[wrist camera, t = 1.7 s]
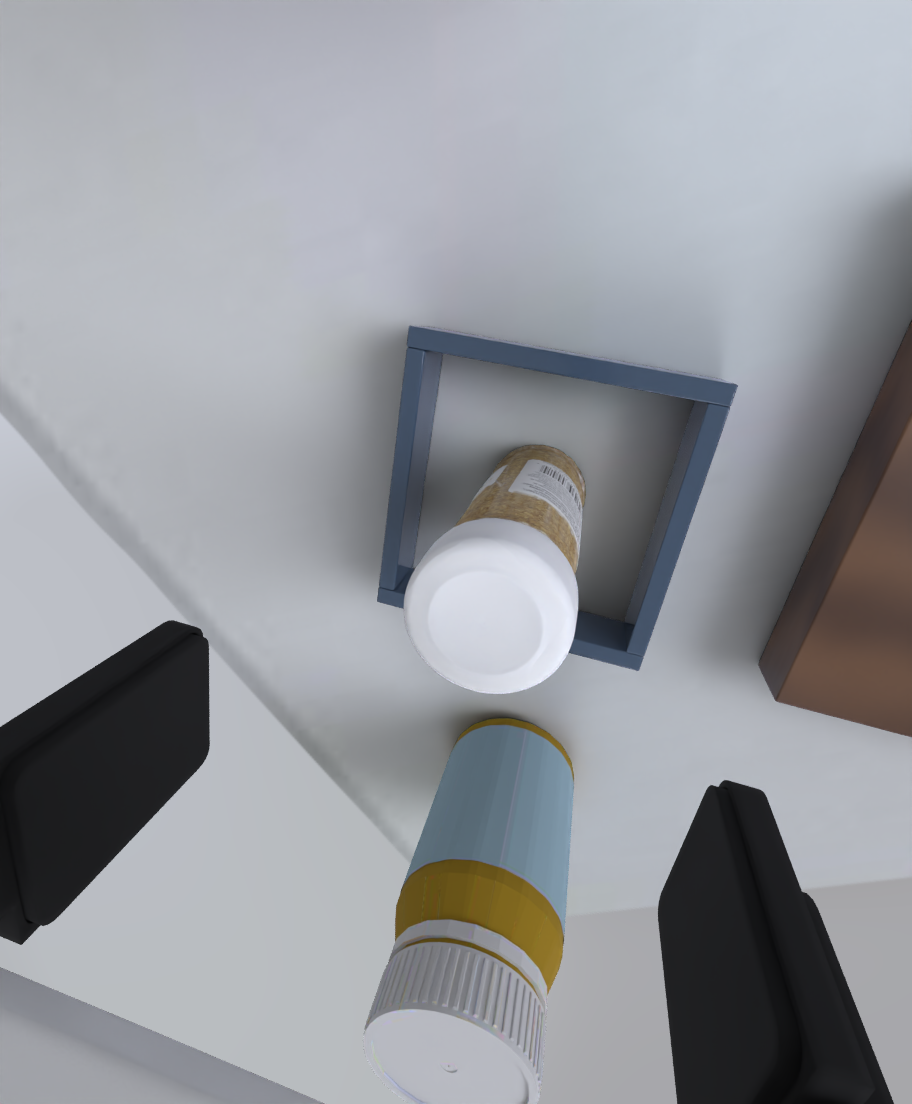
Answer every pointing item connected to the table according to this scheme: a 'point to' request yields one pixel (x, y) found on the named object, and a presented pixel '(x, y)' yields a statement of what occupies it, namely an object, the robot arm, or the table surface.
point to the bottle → (479, 925)
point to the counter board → (857, 581)
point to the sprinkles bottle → (503, 578)
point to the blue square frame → (710, 394)
